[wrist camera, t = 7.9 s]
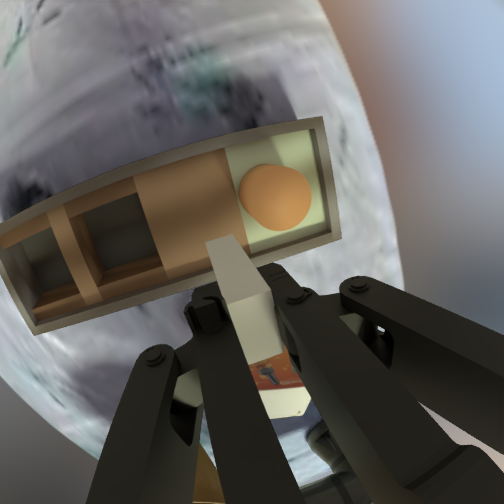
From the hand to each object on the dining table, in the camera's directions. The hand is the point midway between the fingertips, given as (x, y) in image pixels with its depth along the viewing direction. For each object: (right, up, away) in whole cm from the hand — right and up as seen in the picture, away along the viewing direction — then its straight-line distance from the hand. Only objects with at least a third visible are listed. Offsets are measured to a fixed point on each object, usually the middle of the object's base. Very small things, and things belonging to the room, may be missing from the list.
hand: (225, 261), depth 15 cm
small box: (+2, -12, +21) cm, 25 cm away
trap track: (-8, +4, +12) cm, 16 cm away
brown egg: (+3, +6, +10) cm, 12 cm away
